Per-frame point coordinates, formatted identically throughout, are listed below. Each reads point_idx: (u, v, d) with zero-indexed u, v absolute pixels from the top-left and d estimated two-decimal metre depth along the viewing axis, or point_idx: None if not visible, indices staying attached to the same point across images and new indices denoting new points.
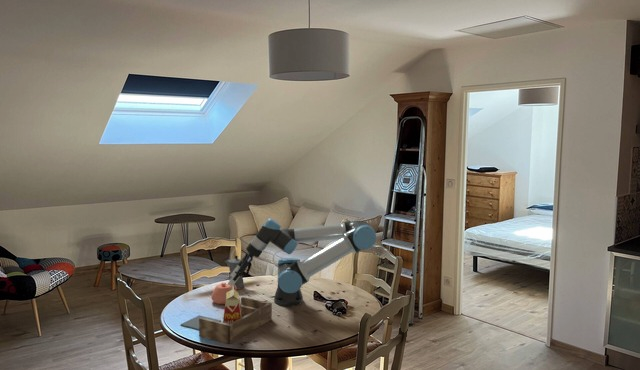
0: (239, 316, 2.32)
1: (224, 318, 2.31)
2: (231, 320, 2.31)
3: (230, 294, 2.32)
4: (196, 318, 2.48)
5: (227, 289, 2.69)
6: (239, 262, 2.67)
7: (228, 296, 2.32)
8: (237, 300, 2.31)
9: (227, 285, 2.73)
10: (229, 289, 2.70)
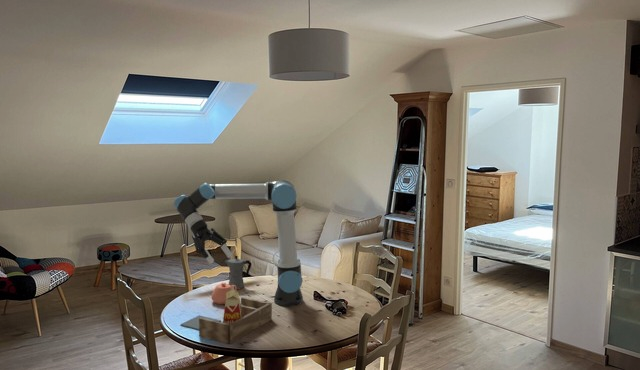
0: (239, 316, 2.32)
1: (224, 318, 2.31)
2: (231, 320, 2.31)
3: (230, 294, 2.32)
4: (196, 318, 2.48)
5: (227, 289, 2.69)
6: None
7: (228, 296, 2.32)
8: (237, 300, 2.31)
9: (227, 285, 2.73)
10: (229, 289, 2.70)
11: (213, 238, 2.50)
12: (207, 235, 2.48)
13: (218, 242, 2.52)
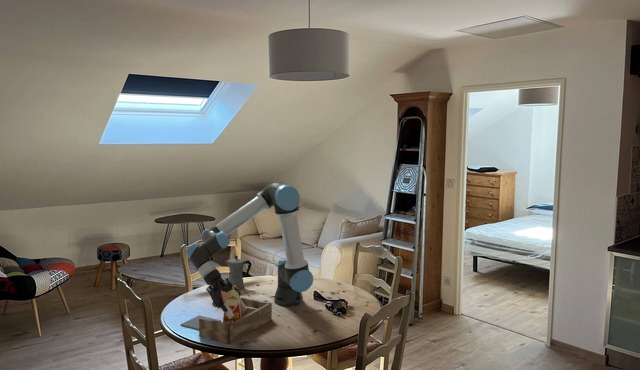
0: (239, 316, 2.32)
1: (224, 318, 2.31)
2: (231, 320, 2.31)
3: (230, 294, 2.32)
4: (196, 318, 2.48)
5: None
6: None
7: (228, 296, 2.32)
8: (237, 300, 2.31)
9: None
10: None
11: (227, 289, 2.38)
12: (221, 285, 2.36)
13: None
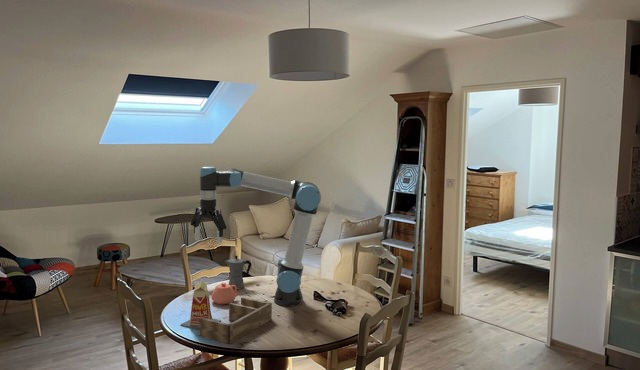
0: (206, 307, 2.40)
1: (192, 309, 2.39)
2: (199, 311, 2.39)
3: (198, 286, 2.40)
4: None
5: (227, 289, 2.69)
6: (192, 224, 2.59)
7: (196, 288, 2.40)
8: (204, 292, 2.39)
9: (227, 285, 2.73)
10: (229, 289, 2.70)
11: (203, 218, 2.57)
12: None
13: (199, 222, 2.58)
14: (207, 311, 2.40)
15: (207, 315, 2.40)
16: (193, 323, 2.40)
